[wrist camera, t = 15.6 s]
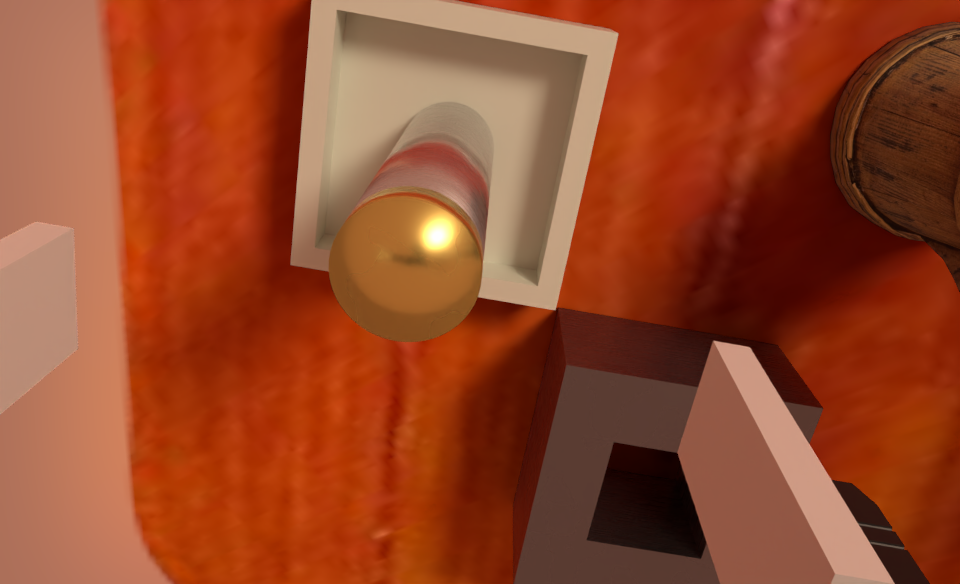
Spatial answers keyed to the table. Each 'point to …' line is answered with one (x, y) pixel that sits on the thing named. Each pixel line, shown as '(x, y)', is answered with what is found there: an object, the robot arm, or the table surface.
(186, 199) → the table surface
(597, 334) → the block
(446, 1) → the tray
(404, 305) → the gold capped cylinder
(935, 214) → the wooden mug
